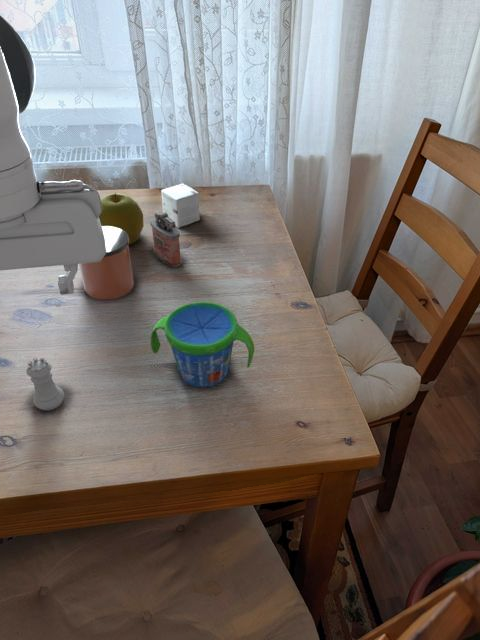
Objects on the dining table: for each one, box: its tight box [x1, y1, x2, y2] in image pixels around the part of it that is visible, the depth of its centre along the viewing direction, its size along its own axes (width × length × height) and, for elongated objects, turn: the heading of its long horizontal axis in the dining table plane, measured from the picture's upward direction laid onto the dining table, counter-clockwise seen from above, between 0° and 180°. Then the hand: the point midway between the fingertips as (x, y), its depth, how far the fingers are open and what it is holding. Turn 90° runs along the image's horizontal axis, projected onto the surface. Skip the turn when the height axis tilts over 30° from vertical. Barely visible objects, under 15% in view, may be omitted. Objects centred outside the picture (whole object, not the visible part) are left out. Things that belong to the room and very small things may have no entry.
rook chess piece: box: [25, 357, 65, 411], centre depth 73 cm, size 4×4×8 cm
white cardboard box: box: [160, 183, 201, 229], centre depth 115 cm, size 6×6×7 cm
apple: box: [99, 192, 145, 246], centre depth 107 cm, size 10×10×11 cm
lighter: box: [149, 210, 183, 267], centre depth 103 cm, size 8×3×10 cm, turn 40°
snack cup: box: [150, 301, 255, 388], centre depth 79 cm, size 16×10×10 cm
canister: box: [78, 226, 135, 300], centre depth 94 cm, size 9×9×10 cm
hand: (26, 295), depth 62 cm, fingers open, 8 cm apart
